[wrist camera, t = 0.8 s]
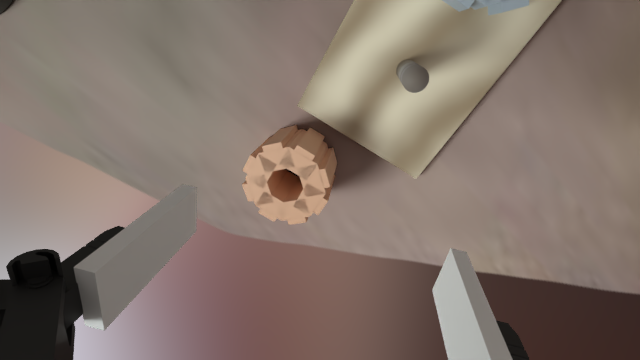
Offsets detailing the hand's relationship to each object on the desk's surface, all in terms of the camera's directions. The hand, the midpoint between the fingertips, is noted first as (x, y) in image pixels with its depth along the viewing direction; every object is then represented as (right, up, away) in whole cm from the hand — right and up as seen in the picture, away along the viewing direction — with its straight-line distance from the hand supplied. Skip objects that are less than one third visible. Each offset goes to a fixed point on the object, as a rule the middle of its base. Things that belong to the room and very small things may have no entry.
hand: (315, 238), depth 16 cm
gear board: (+10, +16, +11) cm, 22 cm away
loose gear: (-2, +5, +18) cm, 19 cm away
